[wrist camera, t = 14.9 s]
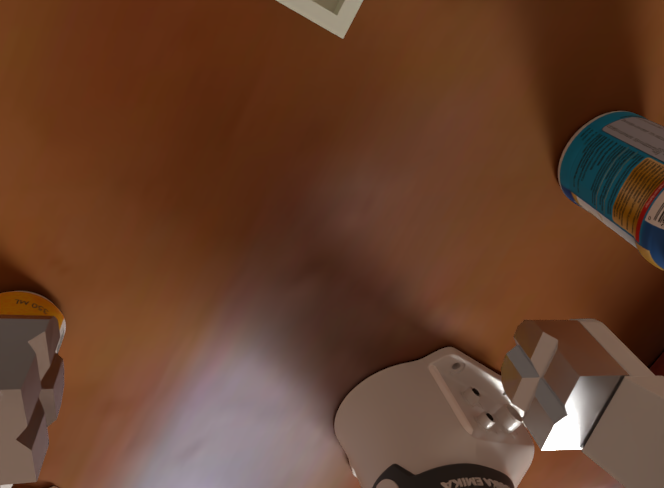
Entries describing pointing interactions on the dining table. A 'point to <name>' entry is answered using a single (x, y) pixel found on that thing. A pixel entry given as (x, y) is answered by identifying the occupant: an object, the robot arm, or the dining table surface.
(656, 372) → the plant pot
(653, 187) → the beverage bottle
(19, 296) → the beer can
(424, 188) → the dining table surface
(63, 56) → the dining table surface
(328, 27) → the tray
